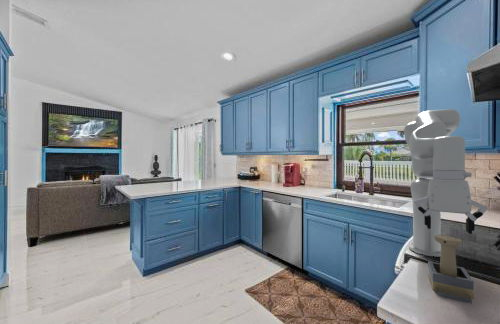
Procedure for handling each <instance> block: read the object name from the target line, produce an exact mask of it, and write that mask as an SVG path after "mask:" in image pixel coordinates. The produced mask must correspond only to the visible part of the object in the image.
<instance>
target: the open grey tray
mask: <svg viewBox="0 0 500 324" xmlns="http://www.w3.org/2000/svg"><path fill="white" fill-rule="evenodd" d="M427 266H428V267H427V277H428V279H429V282H430V285H431V288H432V290H433V291H436V292H437V294H438V296H439V297H442V298H443V297H444V298H447V299H450V300H451V299H452V300H456V301H460V302H464V303H468V304H473V300H474V299H475V298H474V296H475V295H474V294H475V293H474V292H475V291H474V289H475V288H474V287H475V285H474V284H475V283H474V279H472V277H471V275H469V273H468V271H467V270H466V268H465V267H462V266H457V277H455V276H451V275H446V274H441V273H440V262H435V261H429V260H428V261H427Z"/></svg>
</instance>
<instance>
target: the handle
mask: <svg viewBox="0 0 500 324" xmlns="http://www.w3.org/2000/svg"><path fill="white" fill-rule="evenodd" d="M435 240H436V241H437V242H439V243H440V244H441V257H439V259H440V260H439V261H440V262H439V263H440V273H441V274H446V275H451V276H455V277H457V267H458V265H457V256H456V247H459V246H462V245H463V240H462V239H460V238H458V237H453V236H449V235H442V234H441V235H435Z"/></svg>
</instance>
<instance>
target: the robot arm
mask: <svg viewBox="0 0 500 324" xmlns="http://www.w3.org/2000/svg"><path fill="white" fill-rule="evenodd" d="M415 117H416V118H415V120H414V121H411V122H409V123H407V124H406V125H404V128H403V129H404V131H403V135H404V140H405V142H406V144H407V146H408V148H409V150H410V155H411V166H412V172H413V173H412V174H413V175H414V176H415V177H416V178H418V179H415V180H413V181H411V183H410V194H411V200H412V224H413V225H412V243H411V244H409V245H408V249H409V250H410V251H412V252H413V251H414V252H413V253H417V254H419V255H422V254H423V255H422V256H427V257H433V256H434V258H436V257H437V258H440V257H441V244H440V243H439V242H437V241H436V240H435V235H442V233H441V225H442V224H441V222H442V221H441V220H442V219H441V212H442V213H451V214H461V215H462V214H464V215H465V216H466V217H467V218H466V219H465V231H466V232H467V233H468V234H470V235H473V232H474V231H475V225H476V224H475V223H476V221H477V220H478V219H480V218H481V217H482V216H484V213H486V211H488V206H486V205H484V204H482V203H480V202H477V201H475V200H473V199H472V197H471V189H470V186H469V182H468V180H466V179H467V178H472V172H468V171H466V139H465V138H464V137H463V136H460V135H459V136H458V135H452V134H453V133H454V132H455V131H456V130H457V128H458V127H459V125H460V123H461V115H460V113H459V111H458V110H456V109H453V108H446V109H445V108H444V109H443V108H442V109H433V110H432V109H431V110H426V111H422V112H420V113H419V114H418V115H416V116H415ZM472 206H474V207H475V208H476V207H477V208H478V209H477V211H474V212H473V213H471V212H472Z"/></svg>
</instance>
